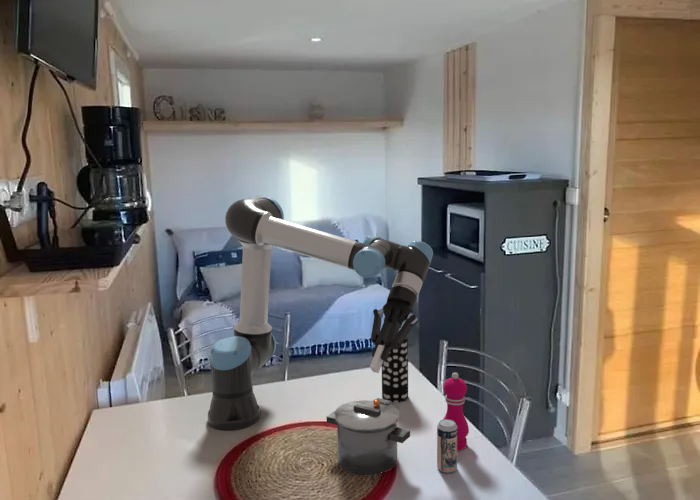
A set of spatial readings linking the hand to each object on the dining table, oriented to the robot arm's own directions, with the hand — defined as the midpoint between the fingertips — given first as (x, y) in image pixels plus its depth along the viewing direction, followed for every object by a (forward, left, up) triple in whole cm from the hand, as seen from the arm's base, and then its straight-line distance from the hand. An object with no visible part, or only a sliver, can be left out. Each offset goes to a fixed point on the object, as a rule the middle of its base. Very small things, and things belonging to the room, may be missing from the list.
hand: (374, 370), depth 146 cm
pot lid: (0, -4, -11) cm, 12 cm away
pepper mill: (+16, +14, -23) cm, 31 cm away
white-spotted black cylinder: (-12, +33, -23) cm, 42 cm away
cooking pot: (0, -4, -22) cm, 23 cm away
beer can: (+19, +2, -23) cm, 30 cm away
